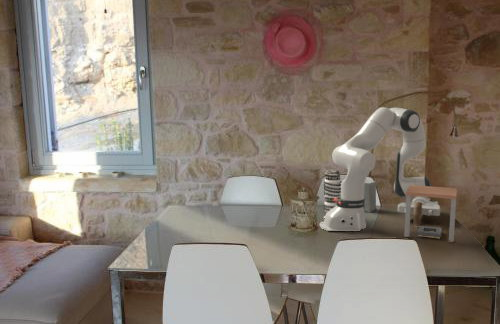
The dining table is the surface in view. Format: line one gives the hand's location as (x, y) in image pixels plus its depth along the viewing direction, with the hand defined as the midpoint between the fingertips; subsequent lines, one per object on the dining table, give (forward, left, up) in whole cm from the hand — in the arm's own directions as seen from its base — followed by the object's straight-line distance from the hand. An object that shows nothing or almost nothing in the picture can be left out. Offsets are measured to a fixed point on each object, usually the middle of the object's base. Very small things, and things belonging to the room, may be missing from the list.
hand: (417, 213), depth 260 cm
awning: (0, -14, -6) cm, 15 cm away
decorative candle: (-36, +21, -7) cm, 43 cm away
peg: (0, -1, -6) cm, 7 cm away
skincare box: (-13, +32, -7) cm, 35 cm away
